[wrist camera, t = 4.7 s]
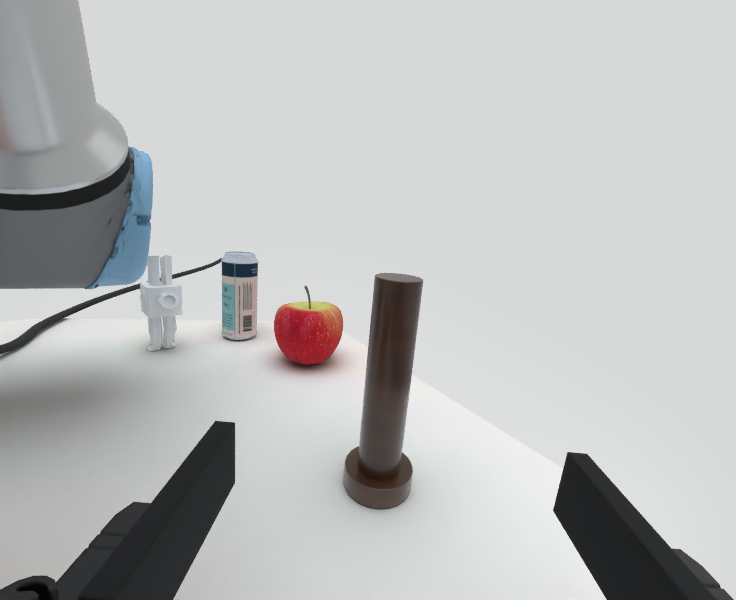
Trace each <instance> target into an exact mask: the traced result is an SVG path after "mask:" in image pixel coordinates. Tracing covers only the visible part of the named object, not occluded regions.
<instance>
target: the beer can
mask: <svg viewBox="0 0 736 600" xmlns="http://www.w3.org/2000/svg"><path fill="white" fill-rule="evenodd" d="M221 261H222V327H223V332H222V335H223V336H225V337H227V338H228V339H231V340H247V339H250V338H252V337H253V336H255V335H256V334H257V271H258V260H257V259H256V257H255V254H254V253H249V252H225V254H224V257H223V258H222V259H221Z"/></svg>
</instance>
